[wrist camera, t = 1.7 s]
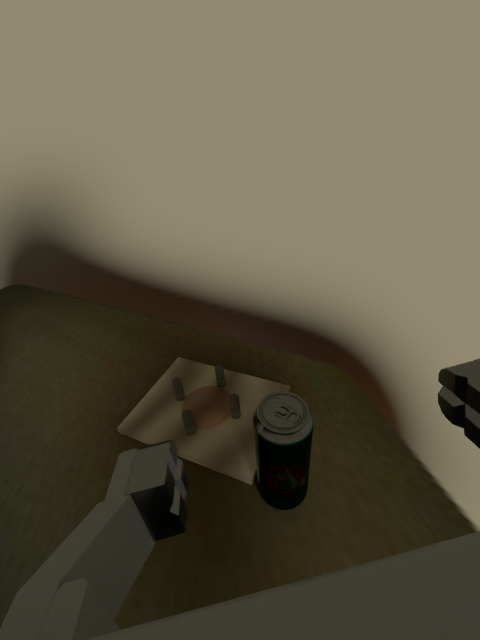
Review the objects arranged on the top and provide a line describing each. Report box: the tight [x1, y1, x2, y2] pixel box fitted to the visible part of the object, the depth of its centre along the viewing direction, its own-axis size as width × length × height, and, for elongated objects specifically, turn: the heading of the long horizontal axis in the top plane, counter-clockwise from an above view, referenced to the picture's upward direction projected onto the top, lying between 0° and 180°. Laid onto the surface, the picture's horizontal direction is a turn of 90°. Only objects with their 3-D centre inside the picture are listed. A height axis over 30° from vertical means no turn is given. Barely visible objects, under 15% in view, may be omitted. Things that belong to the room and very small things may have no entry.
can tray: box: [117, 357, 290, 485], centre depth 41 cm, size 18×14×5 cm
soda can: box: [253, 391, 313, 510], centre depth 30 cm, size 5×5×12 cm
